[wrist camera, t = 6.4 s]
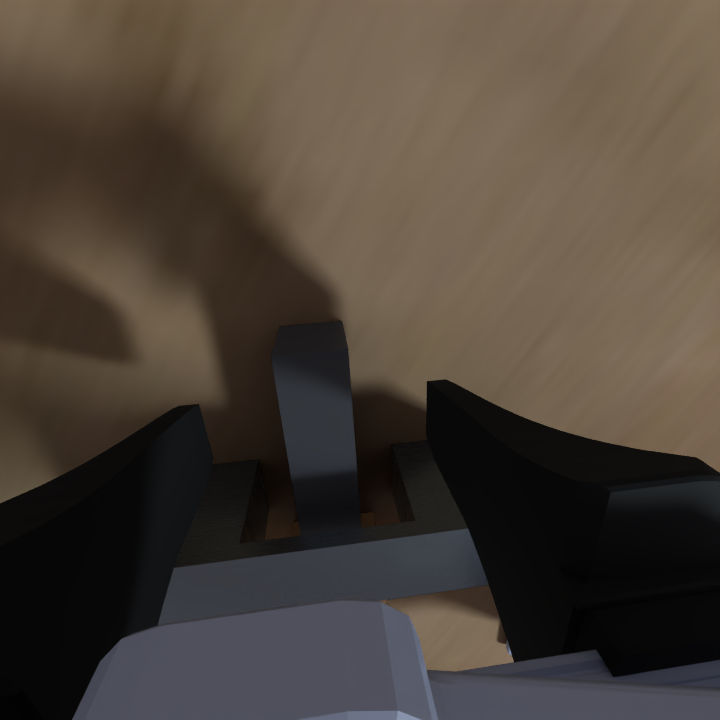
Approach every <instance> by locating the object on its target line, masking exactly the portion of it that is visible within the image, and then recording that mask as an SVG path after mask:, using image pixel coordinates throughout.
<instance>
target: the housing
mask: <svg viewBox="0 0 720 720" xmlns="http://www.w3.org/2000/svg"><path fill="white" fill-rule="evenodd" d="M392 467H393V496H394V500H395V504H396V507H397V511H398V515H399V519H400V523H395V524H387V525H380V526H372V527H364V528H357V529H349V530H341V531H334V532H326V533H318V534H311V535H303V536H295V537H288V538H280V539H272V540H265V541H264V539H265V533H266V526H267V520H268V513H269V509H268V504H267V499H266V494H265V489H264V484H263V480H262V475H261V470H260V465H259V460H251V461H242V462H234V463H225V464H216V465H212V466H211V470H210V475H209V479H208V482H207V486H206V489H205V492H204V494H203V497H202V499H201V502H200V504H199V507H198V509H197V512H196V514H195V516H194V519H193V521H192V524H191V526H190V529H189V531H188V533H187V536H186V538H185V541H184V543H183V546H182V548H181V551H180V553H179V556H178V558H177V561H176V564H175V567H174V570H173V573H172V576H171V580H170V583H169V587H168V590H167V593H166V597H165V600H164V604H163V607H162V611H161V615H160V619H159V622H158V625H161V624H164V623H167V622H175V621H182V620H189V619H196V618H203V617H210V616H217V615H224V614H231V613H239V612H246V611H253V610H260V609H267V608H274V607H281V606H288V605H295V604H302V603H310V602H317V601H324V600H331V599H338V598H354V599H377V600H379V601H382V600H389V599H396V598H403V597H410V596H416V595H423V594H430V593H437V592H444V591H451V590H457V589H464V588H471V587H478V586H485V585H489V584H488V581H487V578H486V576H485V573H484V570H483V567H482V564H481V561H480V559H479V556H478V553H477V551H476V548H475V545H474V543H473V540H472V537H471V535H470V532H469V530H468V527H467V525H466V523H465V521H464V518H463V516H462V514H461V512H460V510H459V508H458V506H457V504H456V502H455V500H454V498H453V496H452V494H451V492H450V490H449V488H448V486H447V484H446V482H445V480H444V478H443V476H442V474H441V472H440V470H439V468H438V466H437V464H436V462H435V460H434V457H433V454H432V451H431V448H430V445H429V442H428V440H426V441H418V442H409V443H400V444H392Z"/></svg>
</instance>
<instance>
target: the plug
mask: <svg viewBox="0 0 720 720" xmlns="http://www.w3.org/2000/svg"><path fill="white" fill-rule="evenodd" d="M271 361H272V367H273V373H274V379H275V385H276V391H277V397H278V403H279V409H280V415H281V421H282V427H283V433H284V439H285V445H286V451H287V457H288V463H289V469H290V475H291V481H292V487H293V493H294V499H295V505H296V511H297V517H298V522H293V523H292V536H291V537H295V536H303V535H311V534H318V533H326V532H334V531H341V530H349V529H357V528H364V527H372V526H376V523H375V518H374V513H373V512H370V513H362V514H360V501H359V488H358V474H357V461H356V448H355V434H354V421H353V408H352V395H351V381H350V368H349V355H348V346H347V341H346V337H345V332H344V327H343V323H342V321H336V322H325V323H313V324H302V325H290V326H280V327H279V330H278V334H277V337H276V340H275V343H274V347H273V350H272V353H271ZM380 602H382V603H384V604H386V605H387V600H382V601H380Z"/></svg>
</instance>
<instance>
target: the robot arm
mask: <svg viewBox="0 0 720 720" xmlns="http://www.w3.org/2000/svg"><path fill="white" fill-rule="evenodd" d="M426 436H427V439H428V442H429V445H430V448H431V451H432V454H433V457H434V460H435V462H436V464H437V466H438V468H439V470H440V472H441V474H442V476H443V478H444V480H445V482H446V484H447V486H448V488H449V490H450V492H451V494H452V496H453V498H454V500H455V502H456V504H457V506H458V508H459V510H460V512H461V514H462V516H463V518H464V521H465V523H466V525H467V527H468V530H469V532H470V535H471V537H472V540H473V543H474V545H475V548H476V551H477V553H478V556H479V559H480V561H481V564H482V567H483V570H484V573H485V576H486V578H487V581H488V584H489V587H490V590H491V593H492V595H493V598H494V601H495V604H496V607H497V610H498V614H499V617H500V620H501V623H502V626H503V629H504V632H505V635H506V638H507V643H506V649H507V651H508V653H509V654H510V655H512V657H513V660H514V663H507V664H501V665H495V666H489V667H482V668H476V669H470V670H463V671H457V672H454V671H438V670H426V666H425V662H424V658H423V653H422V649H421V645H420V640H419V637H418V635H417V633H416V630H415V628H414V626H413V624H412V621H411V619H410V617H409V616H408V615H406V614H404V613H402V612H400V611H398V610H396V609H394V608H392V607H390V606H388V605H386V604H384V603H382V602H380V601H379V600H377V599H354V598H338V599H331V600H324V601H317V602H310V603H302V604H295V605H288V606H281V607H274V608H267V609H260V610H253V611H246V612H239V613H231V614H224V615H217V616H210V617H203V618H196V619H189V620H182V621H175V622H167V623H164V624H161V625H158V622H159V619H160V615H161V611H162V607H163V604H164V600H165V597H166V593H167V590H168V587H169V583H170V580H171V576H172V573H173V570H174V567H175V564H176V561H177V558H178V556H179V553H180V551H181V548H182V546H183V543H184V541H185V538H186V536H187V533H188V531H189V529H190V526H191V524H192V521H193V519H194V516H195V514H196V512H197V509H198V507H199V504H200V502H201V499H202V497H203V494H204V492H205V489H206V486H207V482H208V479H209V475H210V470H211V466H212V461H213V455H212V451H211V448H210V444H209V440H208V436H207V433H206V429H205V425H204V421H203V417H202V414H201V410H200V406H199V404H195V405H185V406H178V407H176V408H174V409H172V410H170V411H168V412H167V413H165V414H163V415H162V416H160V417H159V418H157V419H155V420H154V421H152V422H151V423H149V424H148V425H146V426H145V427H143V428H141V429H140V430H138V431H137V432H135V433H134V434H132V435H131V436H129V437H127V438H126V439H124V440H123V441H121V442H119V443H118V444H116V445H114V446H113V447H111V448H109V449H108V450H106V451H104V452H103V453H101V454H99V455H98V456H96V457H94V458H93V459H91V460H89V461H88V462H86V463H84V464H82V465H80V466H78V467H77V468H75V469H73V470H71V471H69V472H67V473H65V474H63V475H61V476H59V477H57V478H55V479H53V480H51V481H49V482H47V483H45V484H43V485H41V486H39V487H37V488H34V489H32V490H30V491H28V492H25V493H23V494H21V495H19V496H16V497H14V498H12V499H10V500H7V501H5V502H3V503H0V720H720V473H719V472H718V471H716V470H715V469H713V468H712V467H710V466H709V465H707V464H706V463H704V462H703V461H701V460H700V459H698V458H696V457H689V456H682V455H675V454H668V453H661V452H654V451H646V450H640V449H635V448H630V447H625V446H620V445H615V444H610V443H605V442H601V441H597V440H592V439H588V438H585V437H581V436H577V435H574V434H570V433H567V432H563V431H560V430H557V429H554V428H551V427H548V426H545V425H542V424H539V423H537V422H534V421H531V420H529V419H526V418H524V417H521V416H519V415H516V414H514V413H512V412H510V411H508V410H505V409H503V408H501V407H499V406H497V405H495V404H493V403H491V402H489V401H487V400H485V399H483V398H481V397H479V396H477V395H475V394H473V393H472V392H470V391H468V390H466V389H464V388H462V387H460V386H458V385H457V384H455V383H453V382H450V381H448V380H435V381H427V411H426Z"/></svg>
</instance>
